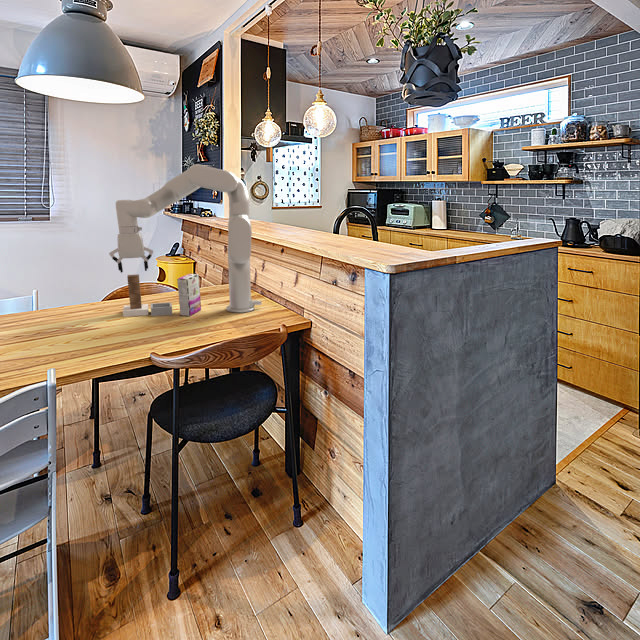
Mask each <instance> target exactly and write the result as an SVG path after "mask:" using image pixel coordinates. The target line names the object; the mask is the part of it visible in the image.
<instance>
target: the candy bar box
mask: <svg viewBox="0 0 640 640" xmlns="http://www.w3.org/2000/svg"><path fill="white" fill-rule="evenodd" d="M176 280H177V293H178V303H179V315H180V316H181V315H183V316H182V317H191V316H193V315H195V314H197V313H199V312H201V310H202V305H201V301H202V300H201V289H200V276H199V274H198V273H196V274H195V273H188V274H186V275H183V276H180V277H178V278H177V279H176Z"/></svg>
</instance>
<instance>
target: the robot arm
mask: <svg viewBox="0 0 640 640" xmlns="http://www.w3.org/2000/svg"><path fill="white" fill-rule="evenodd" d="M200 188H204V189H208V190H211V191H212V190H213V191H218V192H221V193H224V194H225V193H226V194H227V197H228V208H229V211H228V215H229V216H228V222H227V229H228V230H227V231H228V232H227V234H228V235H227V236H228V241H227V243H228V244H227V263H228V290H229V292H228V295H229V305H226V311H227V312H230V313H236V314H237V313H239V314H240V313H241V314H242V313H249V312H252V311H254V310H255V306H262V300H258V299H253V298H252V293H251V292H252V291H251V290H252V287H251V259H250V258H251V254H252V223H251V221H250V198H249V191H248V188H247V186H246V185H245V183H244V182H243V180H242V179H241V178H239V177H238V176H237V175H235V174H234V172H232V171H229V170H225V169H224V170H223V169H220V168H216V167H212V166H207V165H203V164H200V163H196V164H193V165H191V166H190V167H189V168H188V169H186V170H185V171H183V172H182V173H180V174H178V175H176V176H175V177H173V178H171V179H170V180H168V181H166V183H165V184H164V185H163V186H162V187H161V188H159V189H158V190H155V192H153V193H151V194H150V195H148V196H146V197H145V198H142V199H136V200H134V199H119V200H116V202H115V209H116V218H117V225H118V234H117V248H115V249H113V250H112V251H110V252H109V253H108V254H109V256H110V257H111V258H112V260H114V262H115V263H116V264H117V268H118V271H120V273H121V274H122V273H123V272H124V269H123V263H122V260H123V259H137V258H140V259H142V260H143V265H144V271H145V272H147V271H148V270H149V263H148V262H149V260H150V259H151V258H152V256H153V253H154V250H153V249H151V248H149V247H146V246H145V245H144V240H143V237H142V234H141V232H140V231H143V227H142V226H139V225H138V218H139V219H149V218H150V217H152V216H155V215H156V214H157V213H159V212H161V211H163V210H164V209H166V208H168V207H169V206H170V205H172V204H175V203H177V202H179V201H180V200H183V199H184V198H185V197H187V196H190V195H191V194H192V193H194V192H196V191H197V190H198V189H200ZM145 252H148V255H147V256H146V255H145ZM116 253H117V254H118V257H116V256H115V254H116Z"/></svg>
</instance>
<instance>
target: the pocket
mask: <svg viewBox="0 0 640 640" xmlns="http://www.w3.org/2000/svg"><path fill="white" fill-rule="evenodd" d="M150 315H151V316H150V317H158V316H159V317H160V316H162V317H163V316H173V306H172V302H169V301H168V302H160V303H159V302H154V303H153V302H152V303H150Z"/></svg>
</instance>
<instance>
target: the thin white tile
mask: <svg viewBox="0 0 640 640" xmlns="http://www.w3.org/2000/svg"><path fill="white" fill-rule="evenodd" d="M142 316H149V304H148V303H143V304H142V308H139V309H130V304H129V305H127V304H125V305H123V308H122V317H124V318H125V317H127V318H128V317H142Z"/></svg>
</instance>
